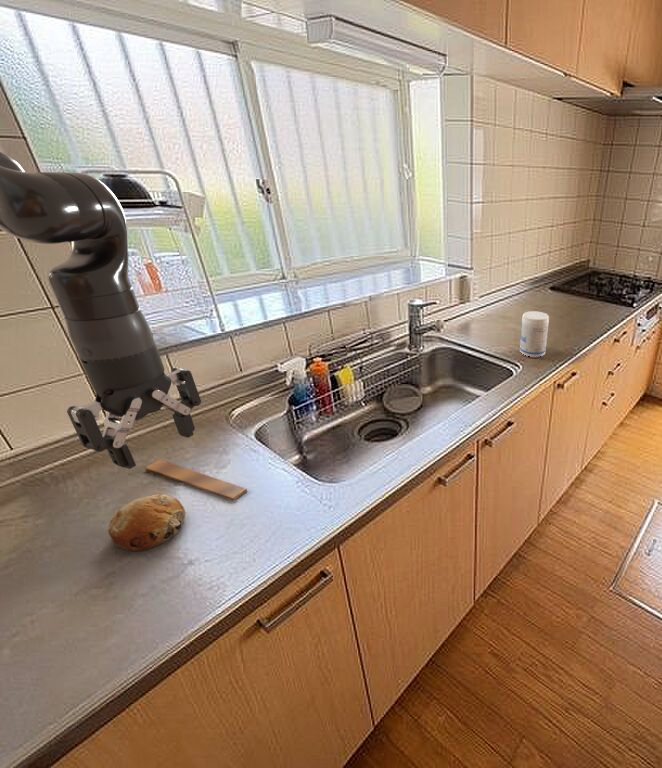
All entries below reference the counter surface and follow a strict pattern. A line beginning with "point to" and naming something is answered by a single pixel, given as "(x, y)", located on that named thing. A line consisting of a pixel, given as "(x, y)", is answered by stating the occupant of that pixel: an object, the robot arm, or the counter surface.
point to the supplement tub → (534, 334)
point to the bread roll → (147, 522)
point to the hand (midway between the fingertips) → (159, 450)
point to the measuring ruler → (196, 479)
